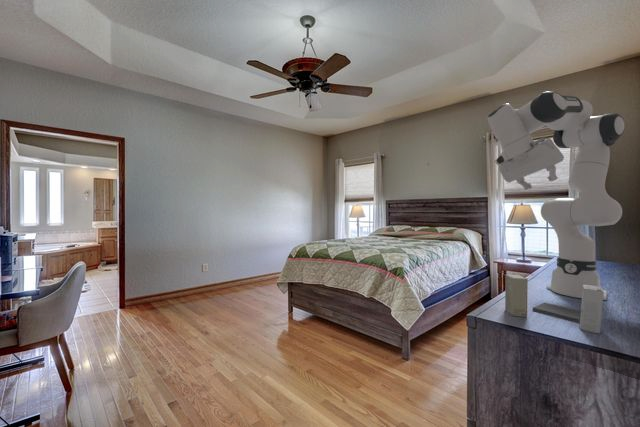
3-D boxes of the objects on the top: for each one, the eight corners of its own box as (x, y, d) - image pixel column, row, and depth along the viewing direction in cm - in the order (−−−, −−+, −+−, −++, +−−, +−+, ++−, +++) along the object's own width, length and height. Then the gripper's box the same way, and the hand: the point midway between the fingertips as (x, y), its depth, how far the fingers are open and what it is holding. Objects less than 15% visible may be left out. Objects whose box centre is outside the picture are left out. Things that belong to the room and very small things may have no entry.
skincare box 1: (527, 317, 93) (529, 279, 92) (512, 316, 93) (513, 278, 93) (518, 310, 99) (519, 274, 98) (503, 309, 100) (505, 273, 99)
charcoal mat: (544, 305, 105) (544, 302, 105) (588, 316, 95) (588, 313, 95) (532, 310, 99) (532, 307, 99) (578, 322, 89) (578, 319, 89)
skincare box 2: (579, 323, 88) (581, 283, 88) (600, 328, 85) (602, 286, 85) (580, 330, 83) (582, 287, 83) (602, 334, 81) (604, 290, 80)
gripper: (555, 131, 91) (578, 170, 89) (503, 157, 111) (522, 189, 109) (540, 138, 89) (564, 178, 88) (491, 163, 109) (510, 196, 107)
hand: (540, 184), depth 99 cm, fingers open, 8 cm apart
